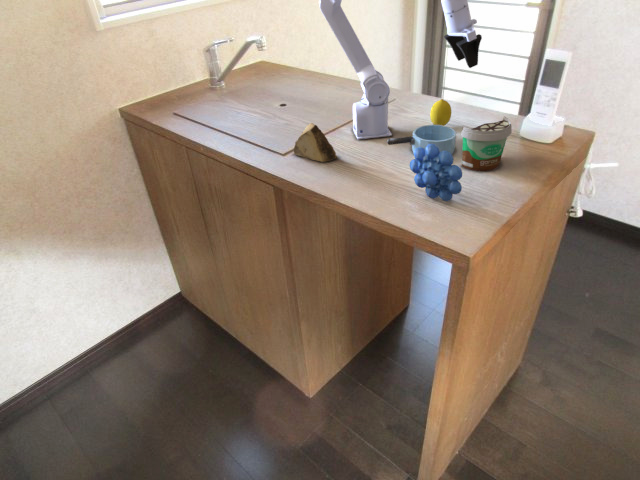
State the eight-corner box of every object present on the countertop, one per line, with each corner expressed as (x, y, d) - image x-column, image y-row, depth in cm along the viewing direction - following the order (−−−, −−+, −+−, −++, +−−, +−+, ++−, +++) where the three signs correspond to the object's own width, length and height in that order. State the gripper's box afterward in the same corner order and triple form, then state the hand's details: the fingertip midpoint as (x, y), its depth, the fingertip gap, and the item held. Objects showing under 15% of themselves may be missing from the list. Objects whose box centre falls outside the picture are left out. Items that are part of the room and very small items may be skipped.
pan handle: (413, 141, 112) (414, 134, 111) (415, 144, 111) (416, 137, 110) (386, 144, 112) (386, 137, 111) (387, 147, 110) (387, 140, 109)
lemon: (450, 131, 121) (453, 102, 116) (429, 131, 122) (431, 102, 118) (449, 124, 125) (452, 95, 121) (429, 123, 127) (431, 95, 122)
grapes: (398, 199, 95) (400, 147, 88) (413, 186, 99) (417, 135, 92) (449, 215, 89) (456, 160, 81) (464, 200, 93) (471, 146, 86)
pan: (418, 160, 109) (420, 143, 106) (407, 143, 117) (408, 127, 114) (460, 156, 109) (462, 138, 106) (446, 139, 118) (447, 122, 115)
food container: (473, 178, 100) (480, 136, 94) (456, 168, 104) (461, 127, 98) (517, 165, 103) (526, 124, 97) (498, 155, 108) (505, 115, 102)
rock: (281, 148, 114) (298, 156, 106) (294, 116, 113) (313, 122, 105) (314, 163, 121) (332, 172, 113) (327, 133, 119) (347, 140, 111)
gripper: (484, 4, 100) (494, 62, 108) (460, -3, 112) (471, 49, 120) (454, 19, 101) (466, 74, 109) (434, 9, 113) (446, 60, 121)
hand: (467, 62), depth 115 cm, fingers open, 7 cm apart
